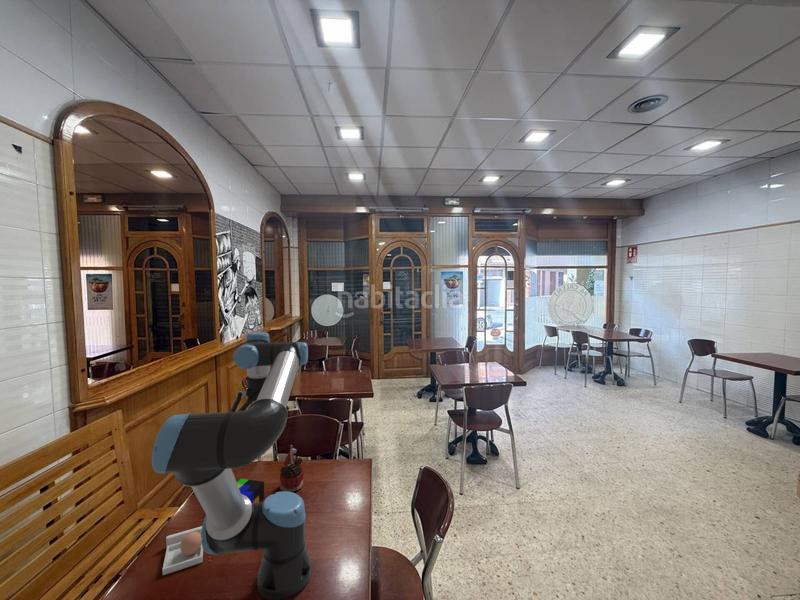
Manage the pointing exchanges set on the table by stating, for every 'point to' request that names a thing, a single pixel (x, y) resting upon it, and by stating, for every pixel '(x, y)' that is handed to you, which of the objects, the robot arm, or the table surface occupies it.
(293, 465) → the cake
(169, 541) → the low wall
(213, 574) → the table surface
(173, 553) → the light gray square tray
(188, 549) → the ball
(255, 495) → the puzzle toy
